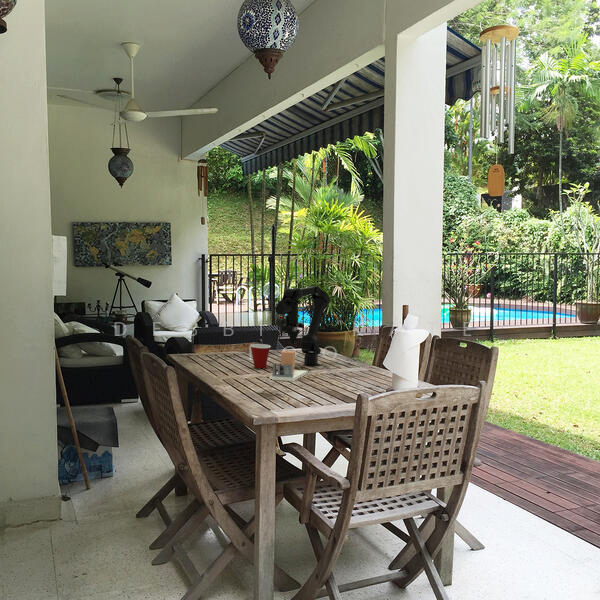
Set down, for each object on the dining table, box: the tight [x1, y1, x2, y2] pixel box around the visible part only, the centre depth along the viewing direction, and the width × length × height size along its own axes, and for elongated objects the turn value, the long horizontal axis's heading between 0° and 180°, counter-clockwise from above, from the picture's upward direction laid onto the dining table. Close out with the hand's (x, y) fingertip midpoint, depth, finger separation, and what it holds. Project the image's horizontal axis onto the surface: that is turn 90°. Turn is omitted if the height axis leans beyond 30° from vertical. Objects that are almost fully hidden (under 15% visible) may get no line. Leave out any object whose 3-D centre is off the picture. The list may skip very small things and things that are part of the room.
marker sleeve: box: [280, 350, 296, 373], centre depth 307 cm, size 3×6×10 cm, turn 71°
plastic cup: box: [249, 343, 272, 369], centre depth 332 cm, size 11×11×12 cm
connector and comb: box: [271, 362, 293, 378], centre depth 302 cm, size 6×10×6 cm, turn 71°
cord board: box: [269, 369, 309, 382], centre depth 308 cm, size 20×12×2 cm, turn 161°
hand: (292, 343), depth 327 cm, fingers closed
